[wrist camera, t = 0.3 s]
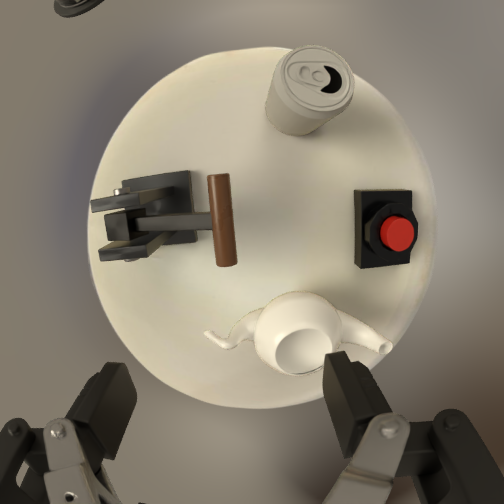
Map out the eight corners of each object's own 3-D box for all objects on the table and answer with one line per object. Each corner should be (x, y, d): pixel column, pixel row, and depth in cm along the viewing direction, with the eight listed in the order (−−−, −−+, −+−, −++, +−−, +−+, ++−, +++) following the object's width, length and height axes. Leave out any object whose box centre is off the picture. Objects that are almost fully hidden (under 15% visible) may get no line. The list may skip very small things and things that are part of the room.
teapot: (210, 270, 34) (198, 304, 25) (370, 277, 34) (404, 308, 25) (210, 339, 36) (201, 385, 27) (355, 341, 37) (380, 381, 28)
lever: (235, 172, 19) (219, 173, 16) (243, 258, 20) (229, 270, 18) (120, 188, 23) (100, 192, 20) (130, 254, 24) (111, 263, 22)
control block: (353, 189, 31) (367, 192, 27) (403, 189, 31) (420, 191, 27) (354, 263, 34) (366, 274, 30) (401, 258, 34) (416, 267, 30)
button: (380, 216, 29) (387, 219, 27) (406, 215, 29) (414, 217, 27) (379, 248, 30) (386, 252, 28) (405, 246, 30) (413, 250, 28)
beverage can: (316, 142, 30) (355, 125, 18) (260, 131, 29) (268, 105, 18) (324, 91, 28) (362, 54, 17) (269, 79, 28) (281, 32, 16)
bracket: (190, 170, 30) (159, 168, 19) (197, 240, 33) (173, 274, 21) (125, 180, 30) (70, 185, 19) (134, 246, 33) (87, 280, 21)
